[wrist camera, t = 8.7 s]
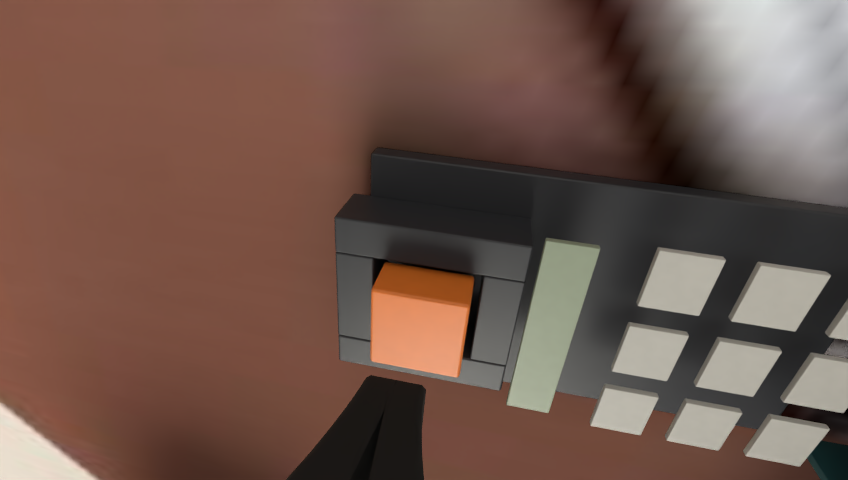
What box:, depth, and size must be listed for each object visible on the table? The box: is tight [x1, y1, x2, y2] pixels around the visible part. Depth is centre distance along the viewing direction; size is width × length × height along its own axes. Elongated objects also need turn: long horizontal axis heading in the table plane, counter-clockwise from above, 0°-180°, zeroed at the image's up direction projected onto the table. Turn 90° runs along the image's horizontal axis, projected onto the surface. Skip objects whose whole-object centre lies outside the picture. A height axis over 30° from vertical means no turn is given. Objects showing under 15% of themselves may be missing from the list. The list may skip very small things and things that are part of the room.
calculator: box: [335, 148, 848, 429], centre depth 14 cm, size 16×8×2 cm, turn 86°
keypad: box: [506, 238, 848, 467], centre depth 13 cm, size 7×9×1 cm
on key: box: [370, 262, 474, 377], centre depth 13 cm, size 3×3×2 cm
